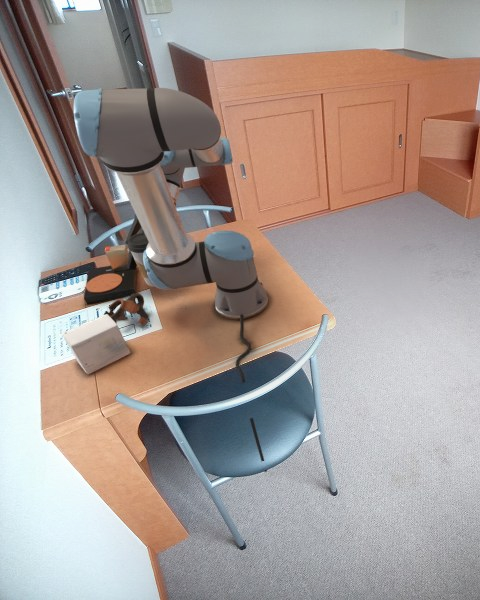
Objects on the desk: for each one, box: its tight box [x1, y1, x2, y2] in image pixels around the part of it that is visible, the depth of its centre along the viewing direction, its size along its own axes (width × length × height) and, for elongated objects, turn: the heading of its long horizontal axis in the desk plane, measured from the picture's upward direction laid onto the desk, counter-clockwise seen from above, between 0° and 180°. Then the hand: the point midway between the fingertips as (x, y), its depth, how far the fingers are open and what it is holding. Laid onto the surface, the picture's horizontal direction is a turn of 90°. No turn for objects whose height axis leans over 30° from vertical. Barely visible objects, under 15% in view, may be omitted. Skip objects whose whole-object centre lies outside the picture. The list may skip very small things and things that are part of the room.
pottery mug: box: [103, 292, 150, 327], centre depth 121 cm, size 12×10×8 cm
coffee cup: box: [127, 233, 157, 288], centre depth 126 cm, size 8×8×15 cm
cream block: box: [104, 244, 129, 272], centre depth 135 cm, size 6×3×8 cm, turn 115°
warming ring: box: [85, 274, 122, 293], centre depth 131 cm, size 10×10×1 cm
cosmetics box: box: [61, 314, 131, 375], centre depth 107 cm, size 10×6×10 cm, turn 140°
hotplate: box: [83, 265, 138, 306], centre depth 134 cm, size 18×15×3 cm
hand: (145, 271), depth 125 cm, fingers closed on coffee cup, 8 cm apart
